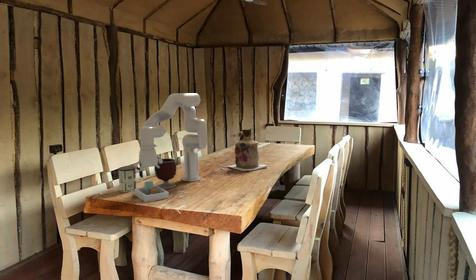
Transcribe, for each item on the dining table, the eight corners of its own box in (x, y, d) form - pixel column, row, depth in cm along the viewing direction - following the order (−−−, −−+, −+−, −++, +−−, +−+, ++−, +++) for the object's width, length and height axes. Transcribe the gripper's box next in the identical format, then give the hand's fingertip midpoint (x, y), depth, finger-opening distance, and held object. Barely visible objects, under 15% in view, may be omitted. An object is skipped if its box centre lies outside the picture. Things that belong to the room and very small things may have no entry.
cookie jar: (248, 163, 313) (248, 126, 309) (268, 168, 294) (268, 128, 290) (225, 167, 297) (225, 127, 293) (245, 172, 278) (245, 130, 274)
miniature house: (128, 186, 237) (127, 165, 235) (140, 189, 232) (139, 167, 230) (115, 190, 228) (114, 168, 226) (127, 192, 223) (126, 170, 221)
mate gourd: (181, 185, 241) (180, 155, 238) (165, 190, 229) (165, 158, 227) (164, 182, 249) (163, 152, 247) (148, 186, 238) (147, 156, 235)
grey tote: (134, 194, 219) (134, 188, 219) (157, 191, 227) (156, 185, 227) (145, 202, 204) (144, 196, 204) (168, 198, 212) (168, 192, 212)
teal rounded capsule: (143, 193, 220) (143, 181, 219) (151, 192, 223) (151, 180, 222) (146, 195, 216) (145, 183, 215) (154, 193, 218) (154, 182, 217)
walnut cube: (148, 196, 213) (148, 188, 212) (156, 195, 216) (156, 186, 215) (151, 198, 209) (151, 190, 208) (159, 197, 212) (159, 188, 211)
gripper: (159, 144, 223) (160, 172, 226) (130, 148, 214) (133, 177, 217) (164, 146, 217) (165, 174, 220) (135, 150, 208) (137, 179, 211)
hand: (149, 175), depth 218 cm, fingers open, 9 cm apart
